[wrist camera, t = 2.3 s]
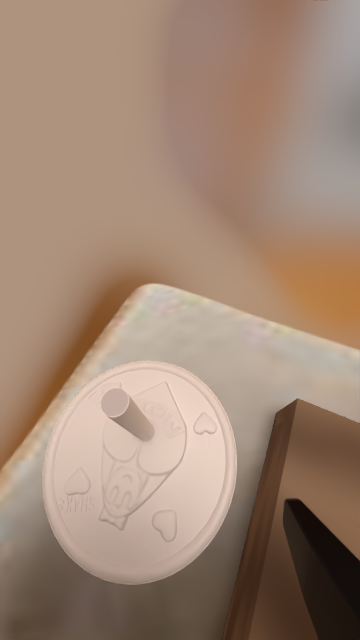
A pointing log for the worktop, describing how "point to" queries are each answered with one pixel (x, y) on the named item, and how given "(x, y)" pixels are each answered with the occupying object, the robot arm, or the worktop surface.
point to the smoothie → (139, 472)
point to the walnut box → (267, 519)
